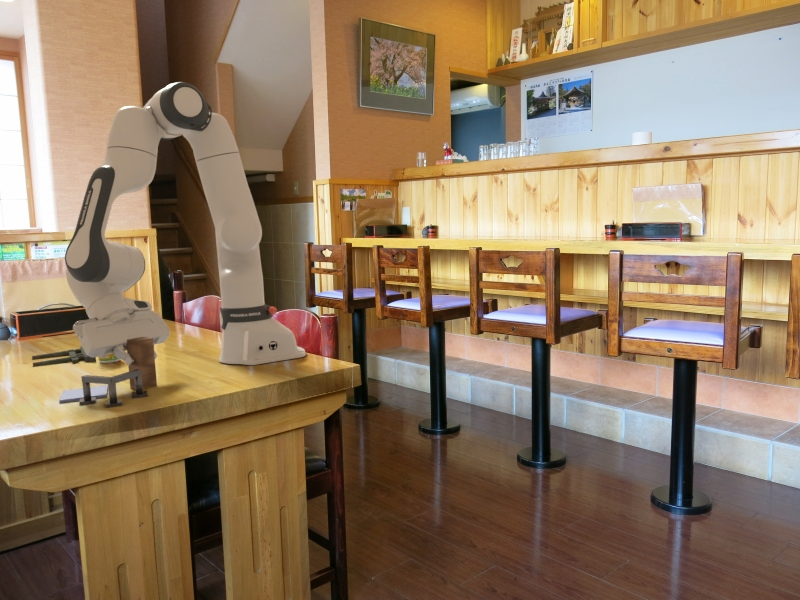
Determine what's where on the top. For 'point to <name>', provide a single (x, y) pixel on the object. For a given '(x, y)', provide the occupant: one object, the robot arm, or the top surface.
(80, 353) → the miniature torii gate
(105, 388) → the pad
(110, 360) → the supplement bottle
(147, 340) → the walnut peg
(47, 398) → the top surface
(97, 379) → the bent rail on posts
